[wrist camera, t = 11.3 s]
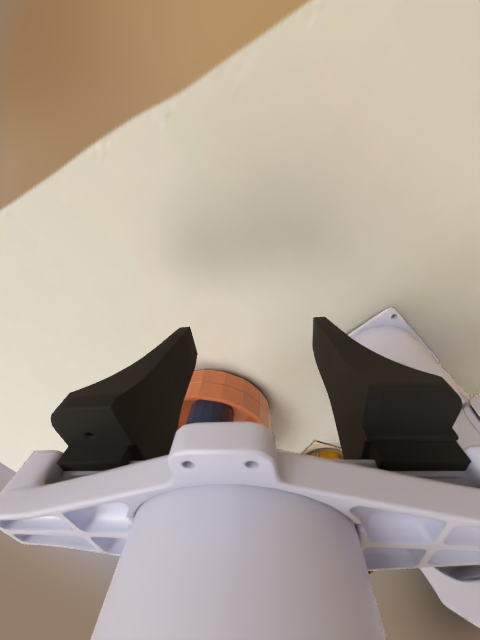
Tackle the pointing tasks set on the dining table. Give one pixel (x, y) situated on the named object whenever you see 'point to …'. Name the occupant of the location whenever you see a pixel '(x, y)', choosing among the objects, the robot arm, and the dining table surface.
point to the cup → (210, 412)
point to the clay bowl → (227, 396)
